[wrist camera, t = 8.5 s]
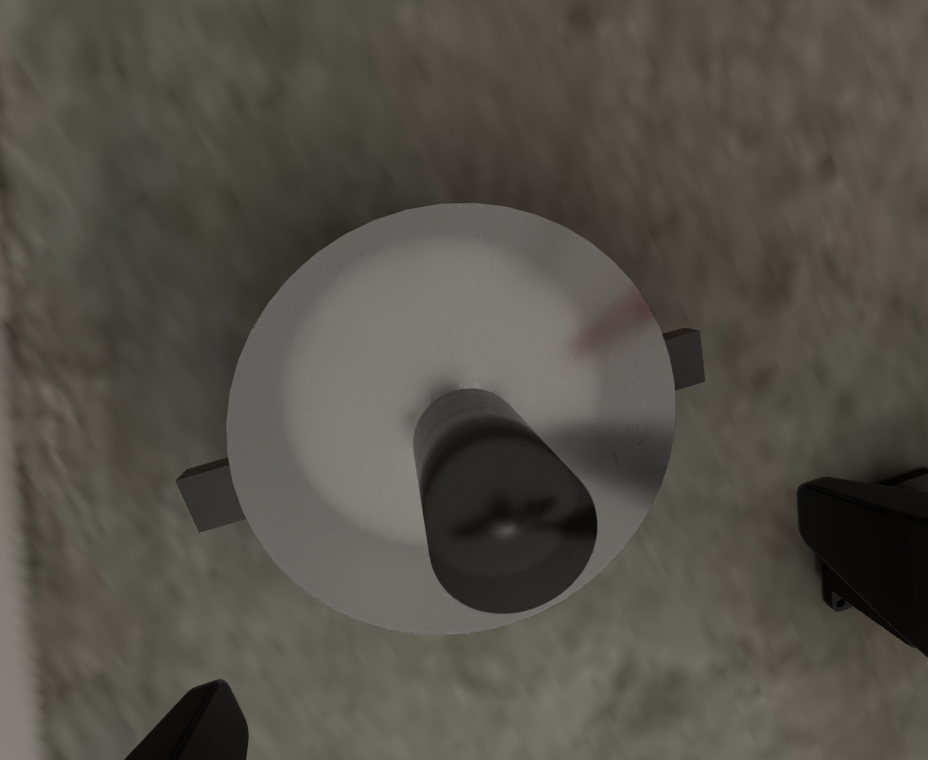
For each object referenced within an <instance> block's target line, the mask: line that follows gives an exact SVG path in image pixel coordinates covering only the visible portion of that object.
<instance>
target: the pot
mask: <svg viewBox="0 0 928 760" xmlns="http://www.w3.org/2000/svg"><path fill="white" fill-rule="evenodd" d="M662 336H663V338H664V341H665V344H666V347H667V350H668V353H669V357H670V362H671V367H672V372H673V378H674V387H675V390H678V389H681V388H685V387H688V386H691V385H695V384H698V383H701V382H705V376H704V367H703V358H702V349H701V339H700V331H699V330H694V329H688V328H682V329H678V330H675V331H671V332H668V333H664V334H662ZM176 483H177V485H178V487H179V489H180V491H181V494H182V496H183V498H184V500H185V502H186V505H187V507H188V509H189V511H190V513H191V516H192V518H193V520H194V522H195V524H196V527H197V529H198V531H199V532H203V531H206V530H209V529H213V528H216V527H219V526H223V525H226V524H229V523H233V522H236V521H240V520H243V519H246V517H245V515H244V513H243V511H242V508H241V505H240V503H239V500H238V497H237V494H236V491H235V488H234V485H233V482H232V476H231V471H230V465H229V460H228V458H225V459H221V460H218V461H214V462H211V463H207V464H204V465H200V466H197V467H193V468H190V469H187V470H186V471H185V472H184V473H183V474H182V475H181V476H180V477H179V478H178V479H177V480H176Z"/></svg>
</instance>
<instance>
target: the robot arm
mask: <svg viewBox="0 0 928 760" xmlns="http://www.w3.org/2000/svg"><path fill="white" fill-rule="evenodd" d="M797 513H798V528H799V532H800V535H801V536H802V538H803V540H804V541H805V543H806V544H807V545H808V546H809V547H810V548H811V549H812V550H813V551H814V552H815V553H816V554H817V555H818V556H819V557H820V558H821V559H822V560H823V561H824V578H825V601H826V604H827V605H828V606H829V607H831V608H832V609H833V610H835V611H842V610H845V609H848V608H851V607H853V606H854V607H855V608H857V609H858V610H859V611H861V612H862V613H864V614H865V615H866V616H868V617H869V618H871V619H872V620H873V621H875V622H876V623H878V624H879V625H880V626H882V627H883V628H885V629H886V630H888V631H889V632H890V633H892V634H893V635H895V636H896V637H897V638H899V639H900V640H902V641H903V642H904V643H906V644H907V645H909V646H911V647H913V648H917V649H918V650H919V651H920V652H922V653H923V654H924V655H925V656H926V657H928V468H925V469H922V470H919V471H916V472H913V473H910V474H907V475H904V476H901V477H898V478H895V479H892V480H889V481H886V482H883V483H880V484H871V483H864V482H858V481H851V480H844V479H838V478H831V477H821V478H817V479H814V480H812V481H809V482H806V483H803V484H801V485H800V486H799V487H798V489H797ZM248 739H249V733H248V725H247V722H246V719H245V717H244V715H243V713H242V711H241V709H240V706H239V704H238V702H237V700H236V698H235V696H234V694H233V692H232V690H231V688H230V686H229V685H228V683H227V682H226V681H225V680H222V679H218V680H214V681H211V682H208V683H205V684H202V685H199V686H196V687H194V688H192V689H191V690H189V691H188V692H187V693H186V694H185V695H184V696H183V697H182V699H181V700H180V701H179V702H178V703H177V704H176V705H175V706H174V707H173V708H172V709H171V710H170V711H169V712H168V714H167V715H166V716H165V717H164V718H163V719H162V720H161V721H160V722H159V723H158V724H157V725H156V726H155V727H154V728H153V730H152V731H151V732H150V733H149V734H148V735H147V736H146V737H145V738H144V739H143V740H142V741H141V742H140V743H139V744H138V746H137V747H136V748H135V749H134V750H133V751H132V752H131V753H130V754H129V755H128V756H127V757H126V758H125V759H124V760H246V757H247V749H248Z"/></svg>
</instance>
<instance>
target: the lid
mask: <svg viewBox="0 0 928 760" xmlns="http://www.w3.org/2000/svg"><path fill="white" fill-rule="evenodd" d="M675 412H676V402H675V387H674V378H673V372H672V367H671V362H670V357H669V353H668V350H667V347H666V344H665V341H664V338H663V336H662V333H661V330H660V327H659V325H658V323H657V321H656V319H655V317H654V315H653V313H652V311H651V309H650V307H649V305H648V304H647V302H646V301H645V299H644V298H643V297H642V295H641V294H640V292H639V291H638V289H637V288H636V286H635V285H634V283H633V282H632V281H631V280H630V279H629V278H628V276H627V275H626V274H625V273H624V272H623V271H622V270H621V269H620V268H619V267H618V266H617V264H616V263H615V262H614V261H613V260H612V259H610V258H609V257H608V256H607V255H605V254H604V253H603V252H602V251H601V250H599V249H598V248H597V247H596V246H594V245H593V244H592V243H591V242H589V241H588V240H586V239H584V238H583V237H581V236H579V235H578V234H576V233H574V232H573V231H571V230H569V229H568V228H566V227H564V226H562V225H560V224H557V223H555V222H552V221H550V220H548V219H545V218H543V217H541V216H538V215H536V214H532V213H528V212H524V211H520V210H517V209H513V208H509V207H505V206H496V205H487V204H478V203H453V204H437V205H431V206H425V207H419V208H413V209H407V210H404V211H401V212H398V213H395V214H392V215H388V216H385V217H382V218H379V219H376V220H374V221H371V222H369V223H367V224H365V225H363V226H361V227H359V228H357V229H355V230H353V231H351V232H349V233H346V234H344V235H343V236H341V237H340V238H338V239H337V240H335V241H334V242H332V243H331V244H329V245H328V246H326V247H325V248H323V249H322V250H320V251H319V252H317V253H316V254H315V255H314V256H313V257H311V258H310V259H309V260H308V261H307V262H306V263H305V264H304V265H302V266H301V267H300V268H299V269H298V270H297V271H296V272H295V273H294V274H292V275H291V276H290V277H289V279H288V280H287V281H286V282H285V283H284V285H283V286H282V287H281V288H280V289H279V290H278V292H277V293H276V294H275V295H274V296H273V298H272V299H271V300H270V301H269V303H268V304H267V306H266V307H265V309H264V311H263V312H262V314H261V315H260V317H259V319H258V320H257V322H256V323H255V325H254V327H253V328H252V330H251V332H250V334H249V337H248V339H247V341H246V344H245V346H244V348H243V350H242V353H241V355H240V357H239V360H238V363H237V367H236V370H235V374H234V378H233V381H232V385H231V389H230V395H229V403H228V412H227V420H226V429H227V454H228V460H229V465H230V471H231V476H232V482H233V485H234V488H235V491H236V494H237V497H238V500H239V503H240V505H241V508H242V511H243V513H244V515H245V517H246V519H247V521H248V523H249V525H250V527H251V528H252V530H253V532H254V534H255V536H256V537H257V539H258V540H259V542H260V543H261V545H262V546H263V547H264V549H265V550H266V552H267V553H268V554H269V556H270V557H271V559H272V560H273V561H274V562H275V563H276V564H277V565H278V566H279V567H280V568H281V569H282V570H283V571H284V572H285V573H286V575H287V576H288V577H289V578H290V579H291V580H293V581H294V582H295V583H296V584H298V585H299V586H300V587H301V588H303V589H304V590H305V591H306V592H307V593H309V594H310V595H311V596H313V597H314V598H316V599H318V600H319V601H321V602H322V603H324V604H326V605H327V606H329V607H331V608H332V609H334V610H336V611H338V612H340V613H342V614H345V615H347V616H349V617H351V618H354V619H356V620H358V621H361V622H364V623H367V624H371V625H374V626H377V627H380V628H384V629H388V630H394V631H399V632H405V633H411V634H426V635H452V634H466V633H472V632H478V631H484V630H490V629H494V628H497V627H501V626H504V625H508V624H512V623H515V622H518V621H520V620H523V619H525V618H528V617H530V616H533V615H535V614H538V613H540V612H542V611H544V610H546V609H548V608H549V607H551V606H553V605H555V604H557V603H559V602H561V601H563V600H564V599H566V598H567V597H568V596H570V595H571V594H573V593H574V592H576V591H577V590H579V589H580V588H582V587H583V586H585V585H586V584H587V583H588V582H589V581H590V580H592V579H593V578H594V577H595V576H596V575H598V574H599V573H600V572H601V571H602V570H603V569H605V567H606V566H607V565H608V564H609V563H610V562H611V561H612V560H613V559H614V558H615V557H616V556H617V555H618V554H619V553H620V552H621V551H622V549H623V548H624V547H625V545H626V544H627V543H628V541H629V540H630V539H631V538H632V536H633V535H634V534H635V532H636V531H637V530H638V528H639V526H640V525H641V523H642V521H643V520H644V518H645V516H646V515H647V513H648V511H649V509H650V508H651V506H652V504H653V501H654V499H655V497H656V495H657V492H658V490H659V488H660V486H661V484H662V480H663V477H664V474H665V471H666V468H667V465H668V461H669V458H670V453H671V447H672V442H673V437H674V428H675Z"/></svg>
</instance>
